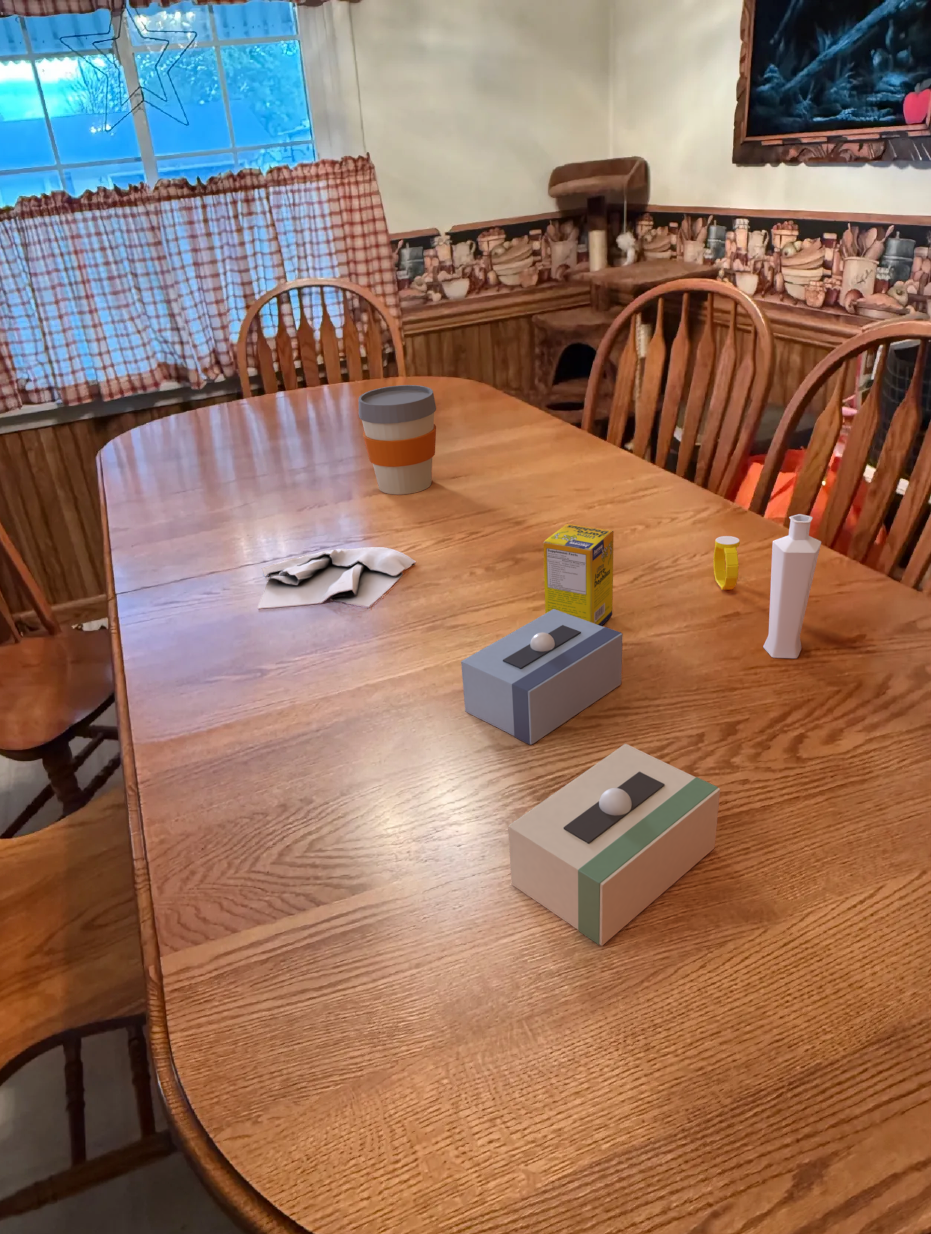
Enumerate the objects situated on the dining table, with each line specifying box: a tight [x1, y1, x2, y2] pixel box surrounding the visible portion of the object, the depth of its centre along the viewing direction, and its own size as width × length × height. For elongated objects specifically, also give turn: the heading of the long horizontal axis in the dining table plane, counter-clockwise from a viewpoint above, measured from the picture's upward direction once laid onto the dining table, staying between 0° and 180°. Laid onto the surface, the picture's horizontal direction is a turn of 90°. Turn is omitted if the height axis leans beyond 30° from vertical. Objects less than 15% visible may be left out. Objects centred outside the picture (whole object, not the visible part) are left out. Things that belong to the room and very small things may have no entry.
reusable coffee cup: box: [358, 384, 437, 495], centre depth 147 cm, size 13×13×15 cm
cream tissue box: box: [507, 743, 721, 947], centre depth 69 cm, size 14×8×9 cm
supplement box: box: [542, 522, 614, 627], centre depth 102 cm, size 6×6×11 cm
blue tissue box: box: [460, 609, 624, 745], centre depth 90 cm, size 14×8×9 cm
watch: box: [712, 535, 741, 591], centre depth 108 cm, size 6×3×6 cm, turn 179°
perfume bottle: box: [762, 513, 822, 659], centre depth 92 cm, size 5×4×15 cm
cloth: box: [257, 546, 417, 610], centre depth 121 cm, size 20×22×2 cm
